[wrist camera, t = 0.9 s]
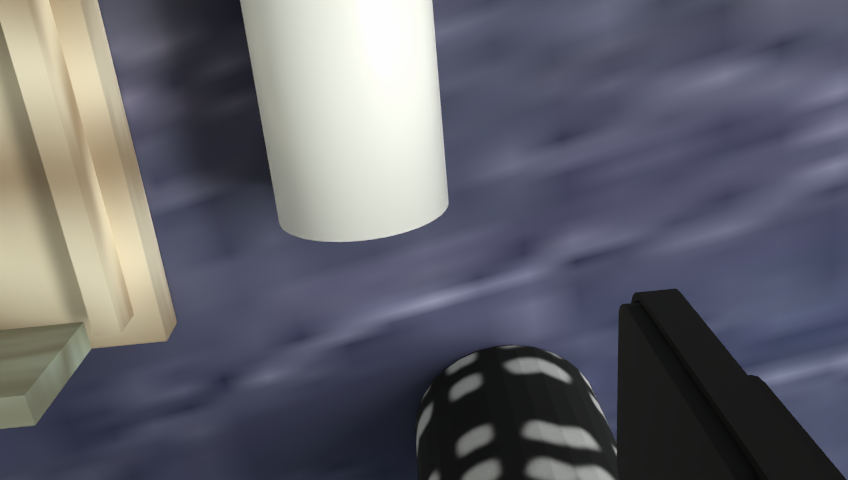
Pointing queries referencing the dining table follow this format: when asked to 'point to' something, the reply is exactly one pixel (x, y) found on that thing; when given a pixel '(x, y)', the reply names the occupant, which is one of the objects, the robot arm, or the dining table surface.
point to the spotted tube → (513, 421)
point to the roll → (349, 114)
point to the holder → (67, 208)
